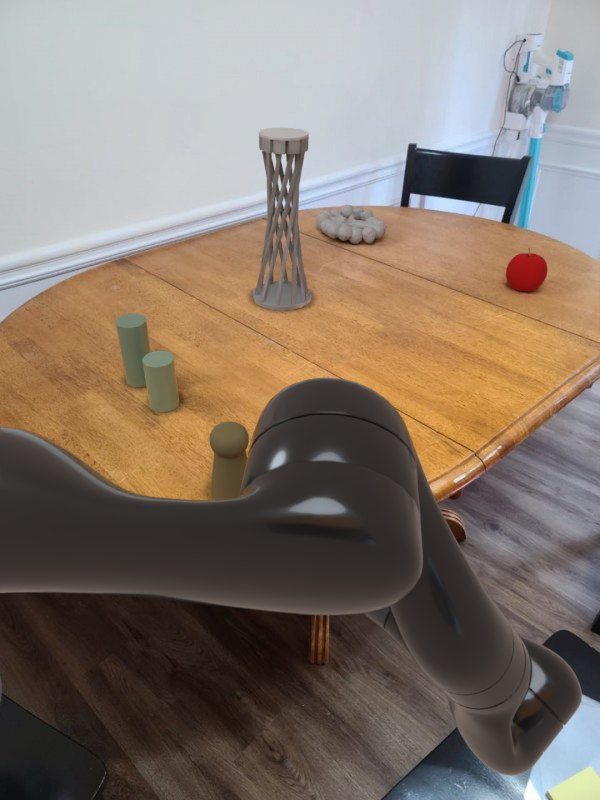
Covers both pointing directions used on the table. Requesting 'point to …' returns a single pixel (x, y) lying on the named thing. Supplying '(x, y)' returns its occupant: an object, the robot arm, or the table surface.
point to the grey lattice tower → (282, 220)
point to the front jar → (161, 381)
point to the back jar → (133, 346)
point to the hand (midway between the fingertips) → (280, 482)
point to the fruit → (526, 271)
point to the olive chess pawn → (228, 459)
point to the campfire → (351, 224)
